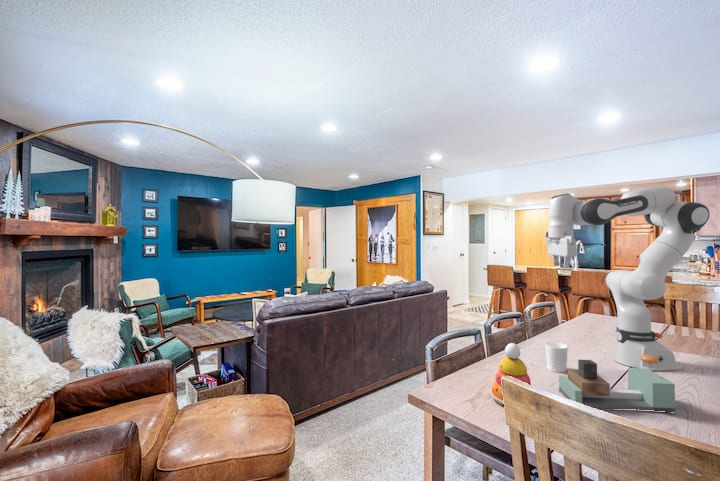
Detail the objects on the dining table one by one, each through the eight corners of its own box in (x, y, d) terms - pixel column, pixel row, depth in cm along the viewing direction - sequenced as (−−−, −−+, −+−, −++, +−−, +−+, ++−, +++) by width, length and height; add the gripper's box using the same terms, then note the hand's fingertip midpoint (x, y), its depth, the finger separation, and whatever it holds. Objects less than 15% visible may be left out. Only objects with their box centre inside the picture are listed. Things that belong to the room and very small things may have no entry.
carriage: (593, 382, 116) (592, 356, 116) (609, 396, 106) (609, 368, 106) (568, 381, 117) (567, 356, 117) (582, 394, 108) (581, 367, 107)
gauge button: (652, 364, 111) (652, 354, 111) (662, 369, 106) (662, 359, 106) (637, 364, 111) (637, 354, 111) (646, 369, 107) (646, 359, 107)
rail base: (647, 394, 114) (647, 368, 114) (675, 413, 103) (674, 384, 102) (559, 390, 119) (558, 365, 119) (575, 407, 107) (574, 379, 107)
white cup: (560, 374, 132) (559, 349, 132) (541, 368, 139) (541, 344, 139) (572, 370, 136) (571, 346, 136) (553, 364, 143) (552, 341, 143)
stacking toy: (488, 388, 122) (487, 335, 121) (532, 393, 118) (531, 337, 117) (492, 408, 108) (491, 347, 108) (541, 414, 104) (540, 351, 104)
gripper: (581, 233, 127) (581, 269, 128) (559, 233, 148) (559, 265, 148) (563, 233, 128) (563, 269, 129) (543, 233, 149) (543, 264, 149)
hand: (561, 267), depth 138 cm, fingers open, 8 cm apart
